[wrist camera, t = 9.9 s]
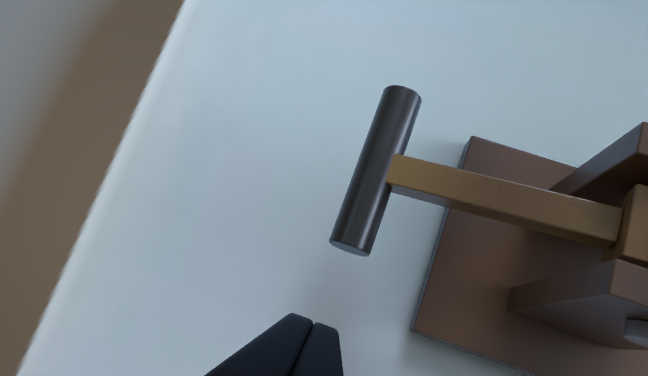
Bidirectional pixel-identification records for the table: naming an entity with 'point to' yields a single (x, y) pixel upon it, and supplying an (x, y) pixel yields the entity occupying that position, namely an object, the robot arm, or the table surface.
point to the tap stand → (540, 273)
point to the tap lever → (475, 194)
